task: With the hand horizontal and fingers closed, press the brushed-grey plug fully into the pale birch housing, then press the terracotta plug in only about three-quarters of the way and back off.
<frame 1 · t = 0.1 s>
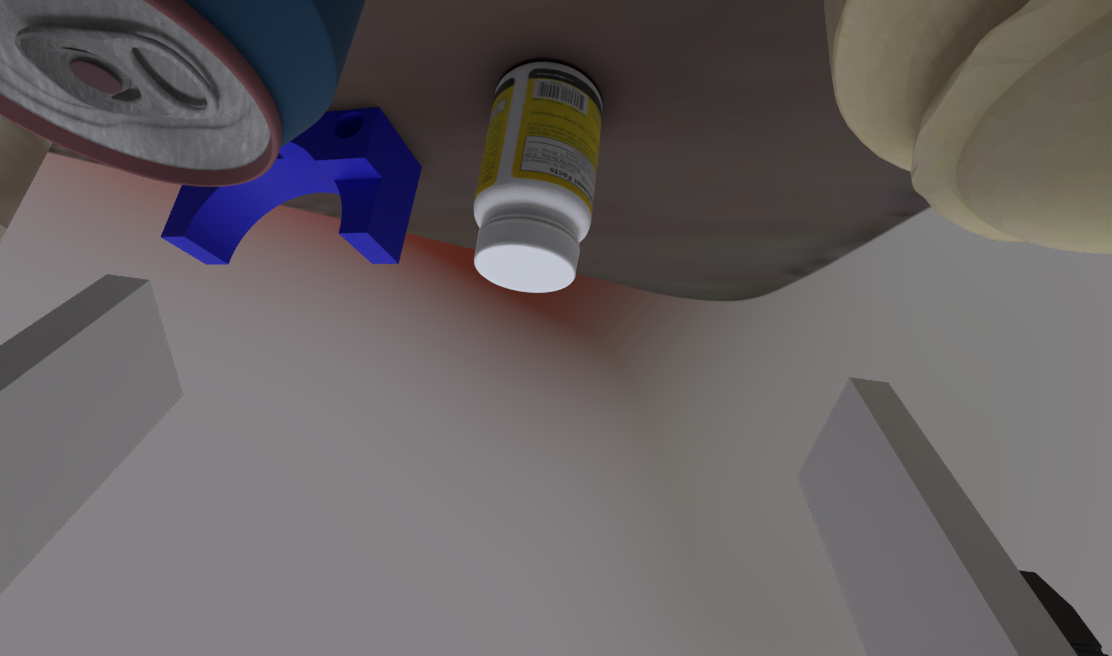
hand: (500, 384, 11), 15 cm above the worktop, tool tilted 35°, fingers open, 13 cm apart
blue curved cradle: (302, 140, 31), on the worktop
supplement bottle: (550, 96, 25), on the worktop
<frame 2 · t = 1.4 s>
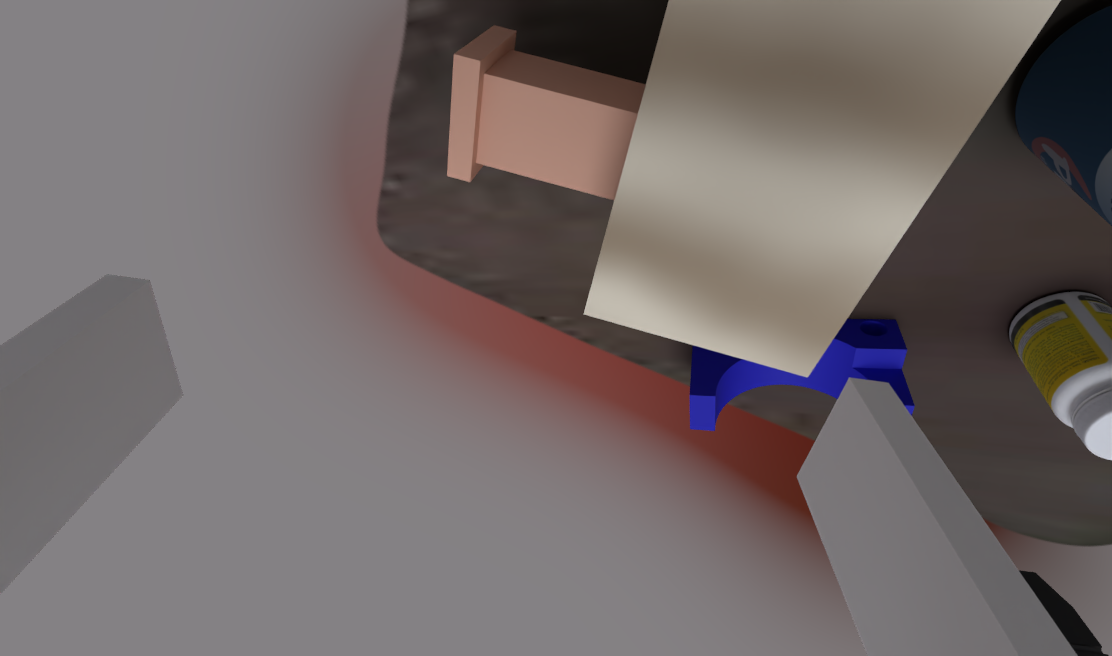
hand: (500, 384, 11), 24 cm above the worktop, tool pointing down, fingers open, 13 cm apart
blue curved cradle: (786, 342, 38), on the worktop
terracotta plug: (615, 137, 24), point 8 cm above the worktop, slide at 0.0 cm
soda can: (1096, 76, 26), on the worktop
supplement bottle: (1055, 321, 33), on the worktop
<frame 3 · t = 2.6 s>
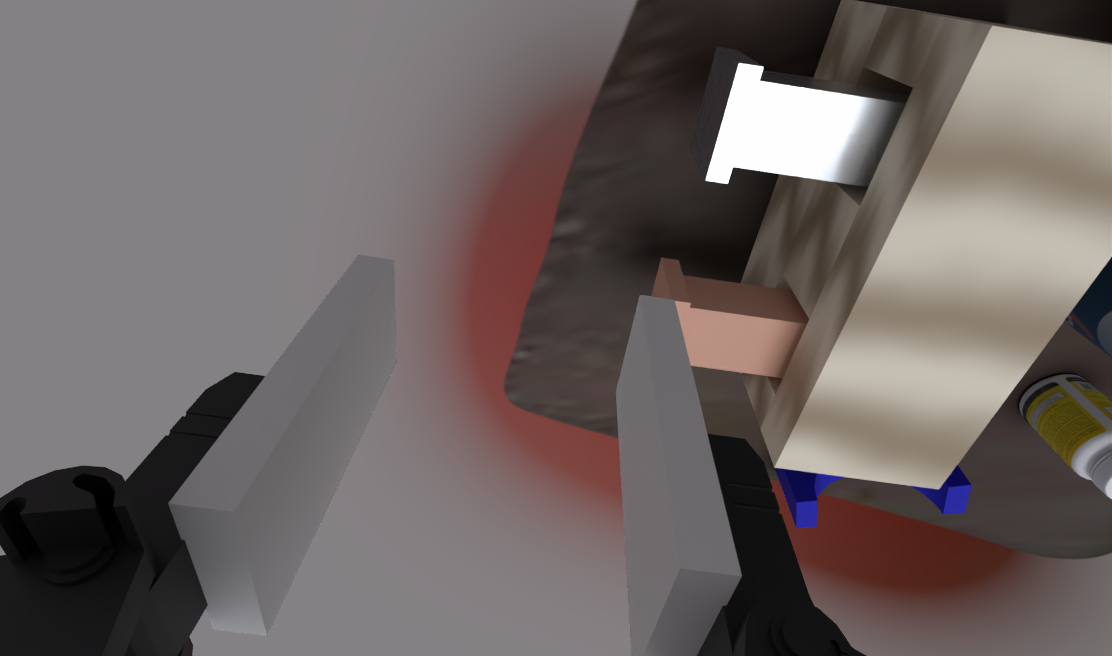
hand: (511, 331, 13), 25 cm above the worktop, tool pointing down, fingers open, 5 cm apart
blue curved cradle: (849, 440, 48), on the worktop
terracotta plug: (765, 330, 32), point 8 cm above the worktop, slide at 0.0 cm
grey plug: (845, 132, 26), point 8 cm above the worktop, slide at 0.0 cm
housing: (843, 199, 36), on the worktop
soda can: (1058, 238, 37), on the worktop
supplement bottle: (1050, 395, 44), on the worktop
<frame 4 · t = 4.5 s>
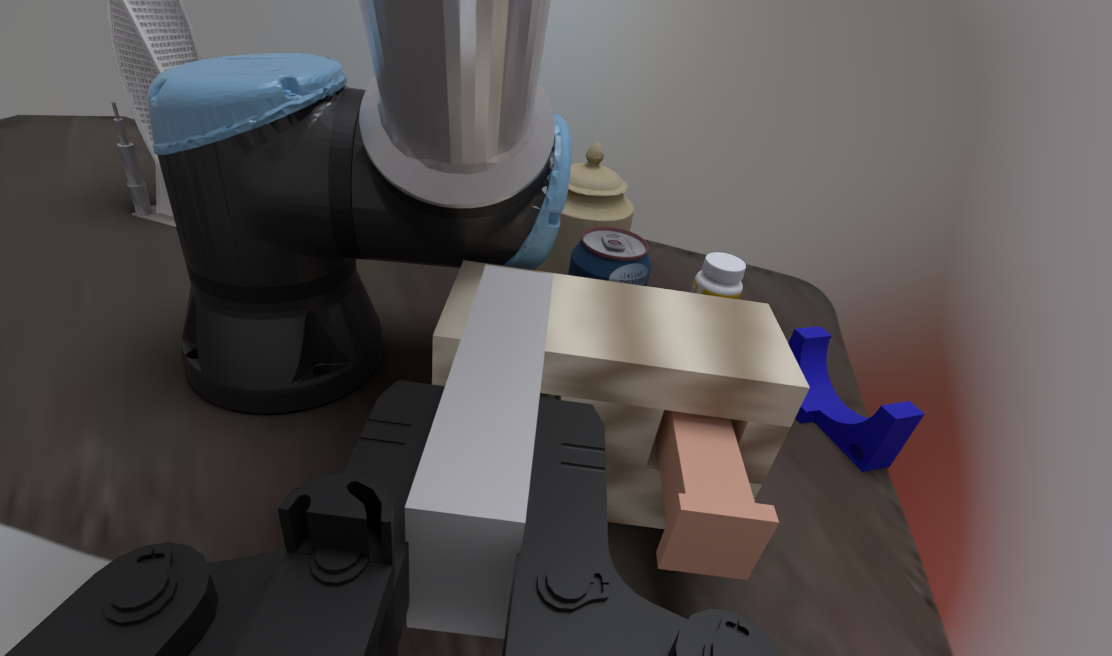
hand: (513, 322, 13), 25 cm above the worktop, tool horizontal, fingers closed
blue curved cradle: (818, 422, 52), on the worktop
sugar bowl: (559, 264, 70), on the worktop
skyscraper: (191, 214, 68), on the worktop
terracotta plug: (696, 455, 34), point 8 cm above the worktop, slide at 0.0 cm
grey plug: (513, 430, 34), point 8 cm above the worktop, slide at 0.0 cm
housing: (584, 468, 43), on the worktop
soda can: (590, 356, 55), on the worktop
supplement bottle: (702, 332, 61), on the worktop
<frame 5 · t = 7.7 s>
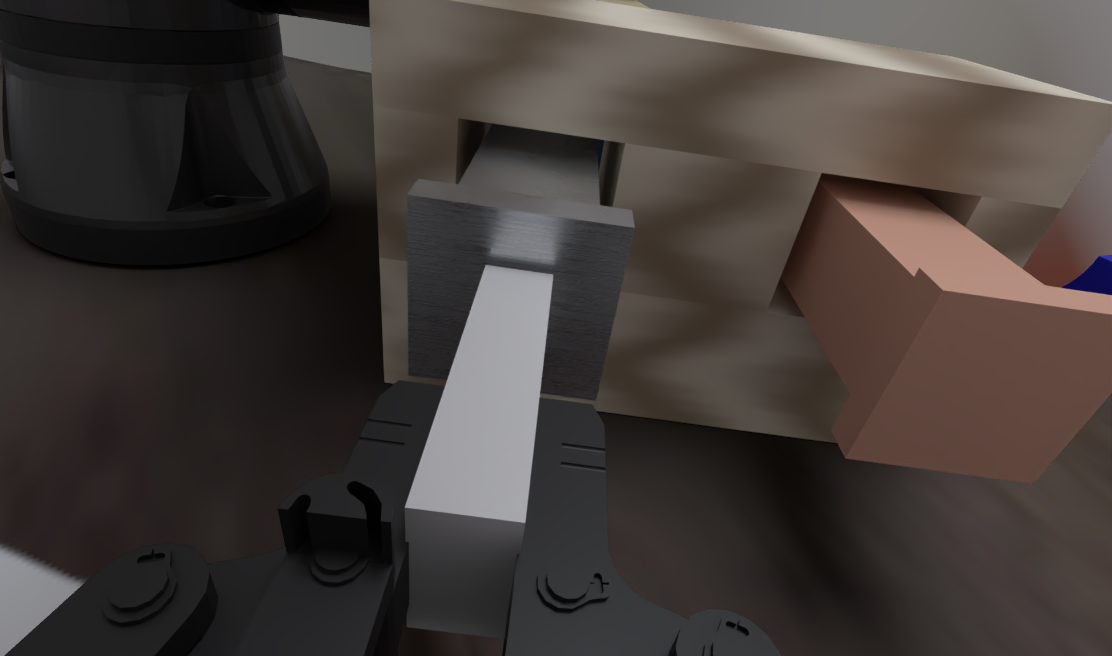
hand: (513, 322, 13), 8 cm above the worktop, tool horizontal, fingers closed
blue curved cradle: (964, 310, 36), on the worktop
terracotta plug: (876, 269, 18), point 8 cm above the worktop, slide at 0.0 cm
grey plug: (533, 208, 19), point 8 cm above the worktop, slide at 0.9 cm, touching gripper
housing: (638, 352, 27), on the worktop
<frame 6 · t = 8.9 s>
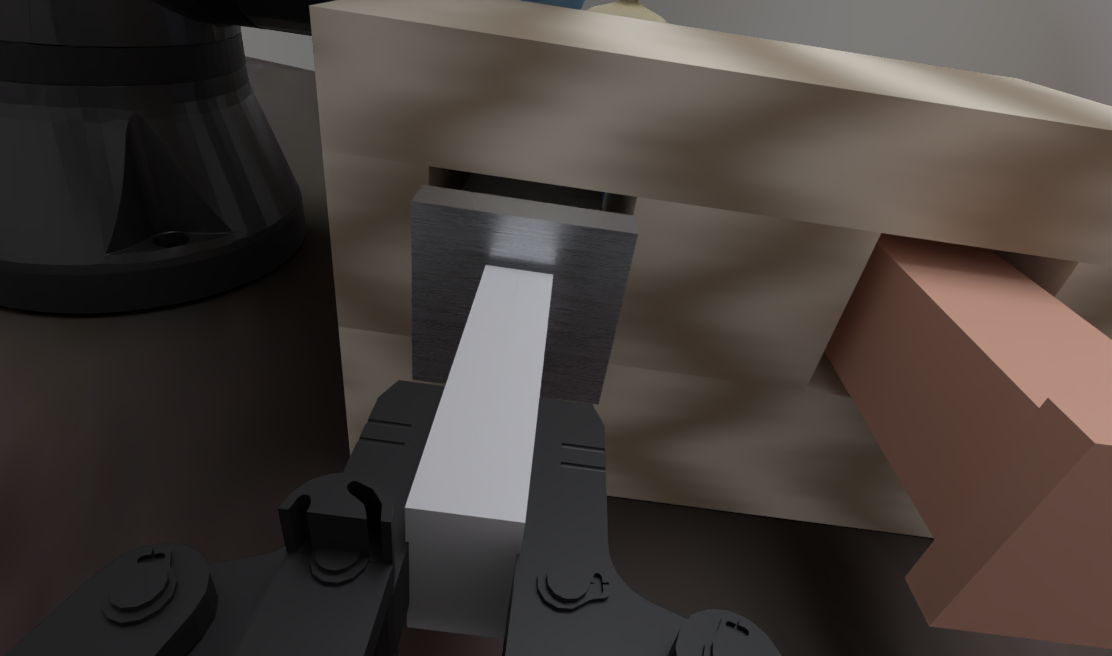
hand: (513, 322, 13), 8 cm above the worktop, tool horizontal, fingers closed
sugar bowl: (578, 161, 51), on the worktop
terracotta plug: (945, 348, 15), point 8 cm above the worktop, slide at 0.0 cm
grey plug: (535, 211, 19), point 8 cm above the worktop, slide at 5.0 cm, touching gripper
housing: (647, 413, 23), on the worktop
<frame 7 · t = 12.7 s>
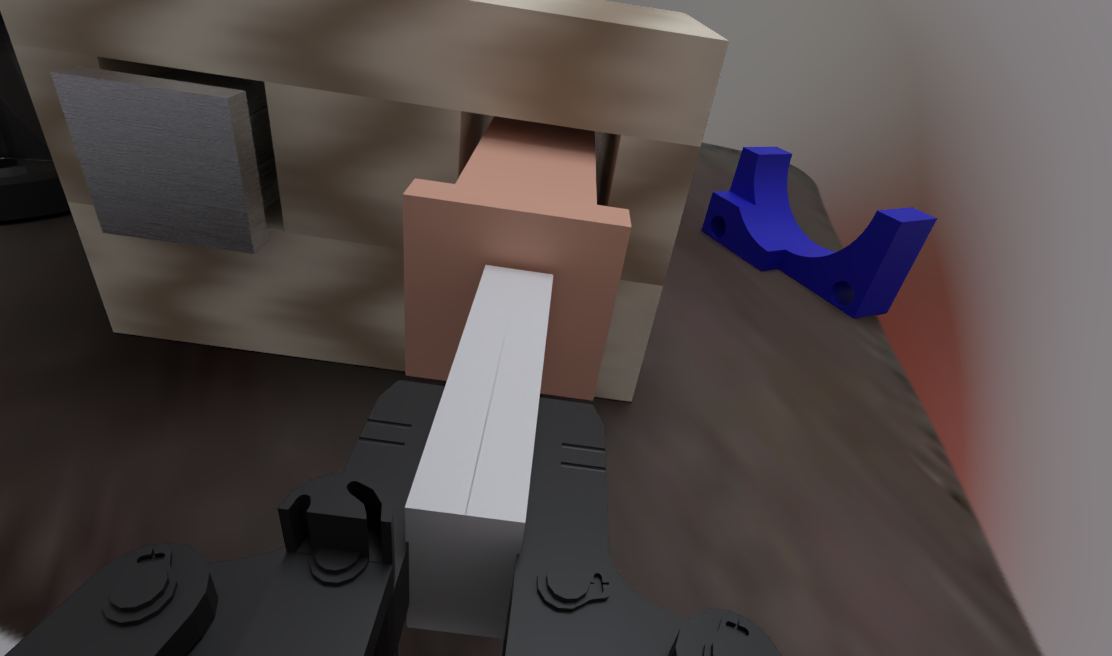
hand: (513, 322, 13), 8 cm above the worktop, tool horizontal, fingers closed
blue curved cradle: (784, 272, 37), on the worktop
terracotta plug: (530, 207, 19), point 8 cm above the worktop, slide at 0.1 cm, touching gripper
grey plug: (260, 119, 22), point 8 cm above the worktop, slide at 5.0 cm
housing: (405, 309, 27), on the worktop
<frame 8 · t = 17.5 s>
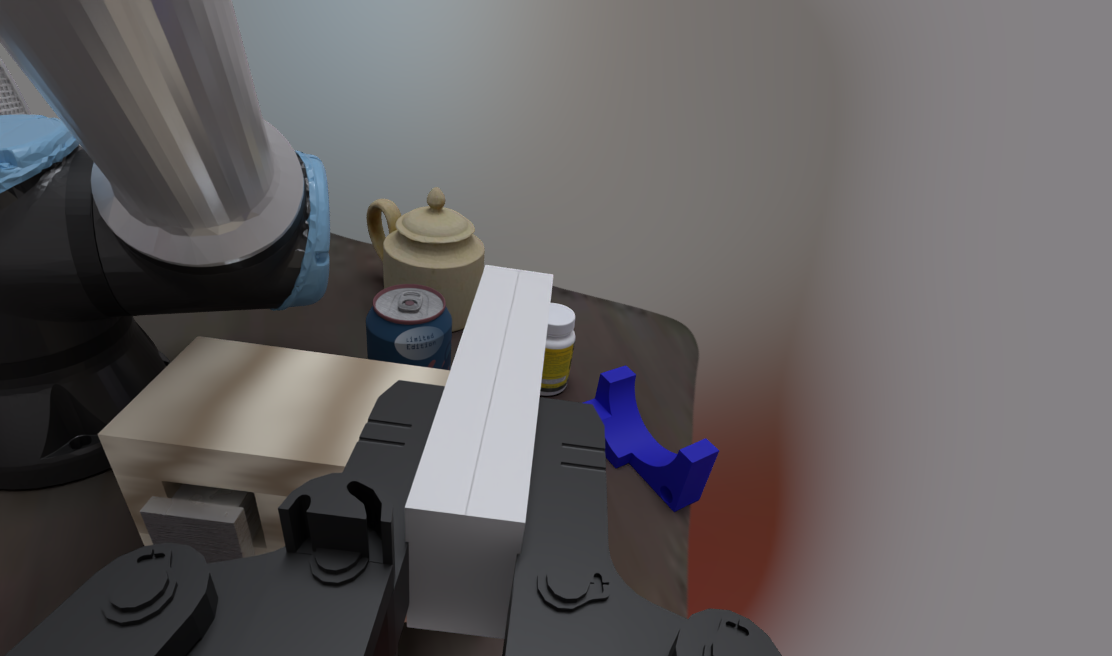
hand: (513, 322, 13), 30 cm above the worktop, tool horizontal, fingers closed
blue curved cradle: (634, 463, 52), on the worktop
sugar bowl: (417, 307, 68), on the worktop
skyscraper: (37, 257, 67), on the worktop
terracotta plug: (422, 500, 35), point 8 cm above the worktop, slide at 3.6 cm
grey plug: (253, 460, 36), point 8 cm above the worktop, slide at 5.0 cm
housing: (350, 546, 41), on the worktop
soda can: (410, 413, 53), on the worktop
supplement bottle: (543, 383, 59), on the worktop
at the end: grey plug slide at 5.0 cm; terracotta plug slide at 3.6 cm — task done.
